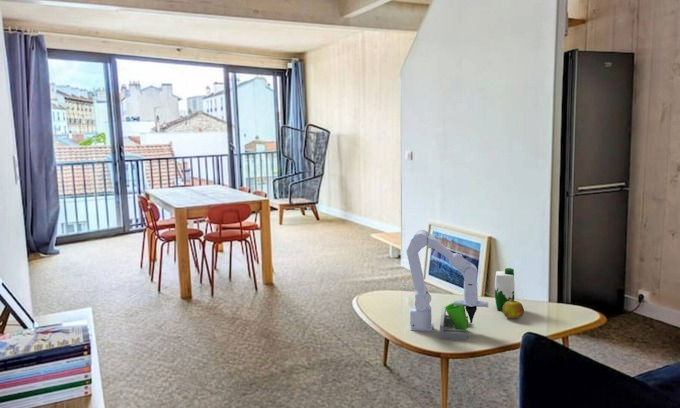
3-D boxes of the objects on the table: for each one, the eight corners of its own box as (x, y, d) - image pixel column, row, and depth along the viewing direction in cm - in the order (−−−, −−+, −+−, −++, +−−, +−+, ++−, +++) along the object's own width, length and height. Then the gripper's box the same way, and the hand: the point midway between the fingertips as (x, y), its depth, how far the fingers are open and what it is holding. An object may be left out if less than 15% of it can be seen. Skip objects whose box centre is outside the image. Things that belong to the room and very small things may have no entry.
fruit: (515, 313, 236) (515, 297, 235) (528, 319, 227) (528, 302, 226) (498, 316, 233) (498, 299, 232) (510, 322, 225) (510, 305, 224)
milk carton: (514, 312, 237) (515, 271, 234) (495, 311, 240) (495, 271, 237) (513, 306, 246) (513, 267, 243) (494, 305, 248) (494, 266, 245)
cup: (474, 329, 213) (466, 305, 212) (453, 335, 214) (446, 311, 213) (470, 322, 222) (462, 299, 221) (450, 328, 223) (443, 305, 222)
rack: (440, 339, 210) (440, 323, 209) (442, 320, 230) (442, 306, 229) (468, 340, 207) (467, 324, 206) (467, 322, 227) (467, 307, 226)
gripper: (453, 294, 212) (454, 324, 214) (488, 295, 209) (488, 326, 211) (453, 289, 219) (454, 319, 221) (487, 290, 216) (488, 320, 217)
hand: (471, 322), depth 216 cm, fingers closed, pressing on cup
